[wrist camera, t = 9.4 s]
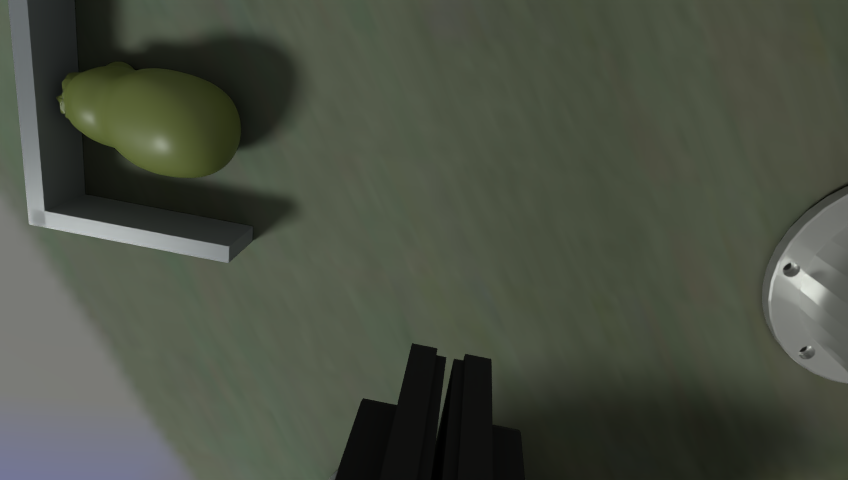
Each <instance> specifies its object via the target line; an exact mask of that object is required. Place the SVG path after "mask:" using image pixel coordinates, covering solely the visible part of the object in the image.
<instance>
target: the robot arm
mask: <svg viewBox="0 0 848 480" xmlns="http://www.w3.org/2000/svg"><path fill="white" fill-rule="evenodd" d="M786 264H787V265H786ZM785 265H786V266H785ZM762 305H763V310H764V315H765V320H766V322H767V325H768V327H769V329H770V331H771V333H772V335H773V337H774V338H775V339H776V341H777V342H778V343H779V344H780V346H781V347H782V348H783V349H784V350H785V351H786V353H787V354H788V355H789V356H790V357H791V358H792V359H793V360H794V361H795V362H797V363H798V364H799V365H801V366H803V367H804V368H806V369H807V370H809V371H811V372H812V373H814V374H816V375H819V376H821V377H824V378H827V379H829V380H832V381H836V382H841V383H847V384H848V186H847V187H845V188H843V189H841V190H839V191H837V192H835V193H833V194H831V195H829V196H827V197H826V198H824V199H823V200H822V201H820V202H819V203H817V204H816V205H815V206H813V207H812V208H811V209H809V210H808V211H806V212H805V213H804V214H803V215H802V216H801V217H800V218H799V219H798V220H797V221H796V222H795V223H794V224H793V225H792V226H791V227H790V228H789V230H788V231H787V233H786V234H785V235H784V237H783V238H782V240H781V241H780V242H779V244H778V245H777V246H776V249H775V251H774V253H773V255H772V257H771V259H770V261H769V263H768V265H767V269H766V273H765V277H764V281H763V289H762ZM436 354H437V348H433V347H428V346H423V345H418V344H413V343H412V346H411V350H410V354H409V358H408V362H407V367H406V371H405V375H404V379H403V383H402V388H401V392H400V396H399V400H398V404H397V405H393V404H388V403H384V402H379V401H374V400H369V399H364V398H363V399H362V401H361V404H360V406H359V409H358V412H357V415H356V418H355V421H354V424H353V427H352V430H351V433H350V436H349V439H348V442H347V445H346V448H345V451H344V454H343V457H342V460H341V462H340V465H339V468H338V471H337V474H336V477H335V480H525V477H524V465H523V453H522V441H521V433H520V431H519V430H516V429H512V428H507V427H502V426H497V425H492V365H491V359H488V358H483V357H478V356H473V355H468V354H465V356H464V360H458V359H454V361H453V365H452V370H451V375H450V379H449V384H448V389H447V393H446V398H445V403H444V407H443V412H442V417H441V422H440V426H439V431H438V436H437V440H436V434H437V426H438V419H439V411H440V403H441V395H442V387H443V379H444V371H445V363H446V357H442V356H437V355H436ZM435 442H436V445H435Z"/></svg>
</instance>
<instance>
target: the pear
mask: <svg viewBox="0 0 848 480" xmlns="http://www.w3.org/2000/svg"><path fill="white" fill-rule="evenodd" d="M62 89H63V93H62V94H61V95H58V96H57V97H58V98H57V97H56V99H57V100H58V101H59V103H60V111H61V113H62V114H64V115H65V117H66V118H67V119H69V120H70V121H71V123H72V124H73V125H74V127H75V128H77V129H78V130H79V131H80V132H82V133H83V134H85V135H86V136H87V137H89V138H91V139H92V140H94V141H96V142H99V143H101V144H104V145H107V146H110V147H114V148H115V149H116V150H117V151H118V152H119V153H120V154H122V155H123V156H124V157H125V158H126V159H128V160H129V161H130V162H132V163H133V164H135V165H137V166H138V167H140V168H143V169H145V170H147V171H150V172H153V173H156V174H160V175H165V176H171V177H179V178H197V177H203V176H207V175H211V174H213V173H215V172H217V171H219V170H221V169H222V168H223V167H225V166H226V165H227V164H228V163H229V162H230V160H231V159H232V158H233V156H234V154H235V153H236V151H237V148H238V146H239V142H240V138H241V122H240V117H239V114H238V111H237V109H236V107H235V105H234V103H233V101H232V100H231V99H230V97H229V96H228V95H227V94H226V93H225V92H224V91H222V90H221V89H220V88H219V87H217V86H215V85H214V84H212V83H210V82H208V81H206V80H204V79H201V78H199V77H196V76H193V75H190V74H186V73H183V72H178V71H174V70H168V69H161V68H147V69H140V70H134V69H133V68H132V67H131V66H130V65H129V64H127V63H124V62H112V63H110V64H108V65H107V66H102V67H97V68H93V69H90V70H87V71H85V72H73V73H69V74H67V76H66V78H65V79H64V80H63V82H62ZM62 98H63V99H62Z"/></svg>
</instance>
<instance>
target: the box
mask: <svg viewBox="0 0 848 480" xmlns="http://www.w3.org/2000/svg"><path fill="white" fill-rule="evenodd" d="M8 5H9V16H10V26H11V37H12V48H13V58H14V69H15V79H16V90H17V101H18V111H19V122H20V132H21V143H22V154H23V164H24V175H25V185H26V196H27V207H28V217H29V224H30V225H35V226H40V227H46V228H51V229H56V230H61V231H66V232H71V233H77V234H82V235H87V236H92V237H97V238H102V239H108V240H113V241H118V242H123V243H128V244H133V245H138V246H144V247H149V248H154V249H159V250H164V251H169V252H175V253H180V254H185V255H190V256H195V257H200V258H206V259H211V260H216V261H221V262H226V263H229V262H230V261H231V260H232V259H233V258H235V257H236V256H237V255H238V254H239V253H240V252H241V251H242V250H243V249H244V248H246V247H247V246H248V245H249V244H250V243H251V242H252V238H253V226H248V225H243V224H238V223H233V222H228V221H222V220H217V219H212V218H207V217H201V216H196V215H191V214H186V213H180V212H175V211H170V210H165V209H159V208H154V207H149V206H144V205H139V204H133V203H128V202H123V201H118V200H112V199H107V198H102V197H97V196H91V195H86V194H85V180H84V162H83V144H82V132H80V131H79V130H78V129H77V128H75V127H74V125H73V124H72V123H71V121H70V120H69V119H67V118H66V117H65V115H64V114H62V113H61V111H60V103H59V101H58V100H57V99H56V97H57V96H58V95H61V94H62V93H63V89H62V82H63V80H64V79H65V78H66V76H67V74H69V73H73V72H79V71H78V53H77V35H76V17H75V0H8ZM57 98H58V97H57ZM62 99H63V98H62Z"/></svg>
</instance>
